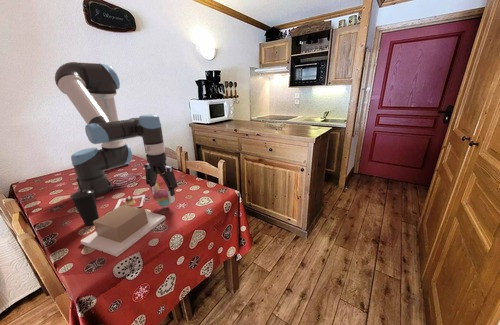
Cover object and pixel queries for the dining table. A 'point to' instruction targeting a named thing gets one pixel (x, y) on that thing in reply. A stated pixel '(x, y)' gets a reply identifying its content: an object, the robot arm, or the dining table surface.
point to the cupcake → (161, 196)
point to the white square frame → (130, 201)
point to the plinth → (125, 243)
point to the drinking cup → (85, 204)
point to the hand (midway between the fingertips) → (164, 200)
